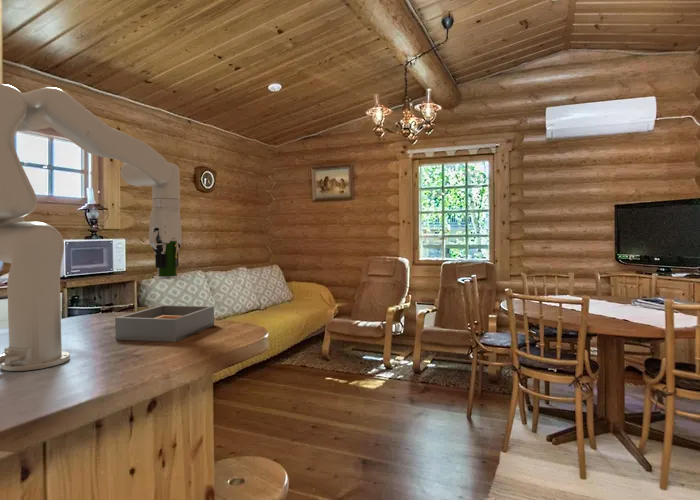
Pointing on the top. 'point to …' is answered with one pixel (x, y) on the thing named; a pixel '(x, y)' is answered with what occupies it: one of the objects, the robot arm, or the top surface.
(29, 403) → the top surface
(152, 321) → the walled box
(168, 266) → the beer can
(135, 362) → the top surface
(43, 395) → the top surface
